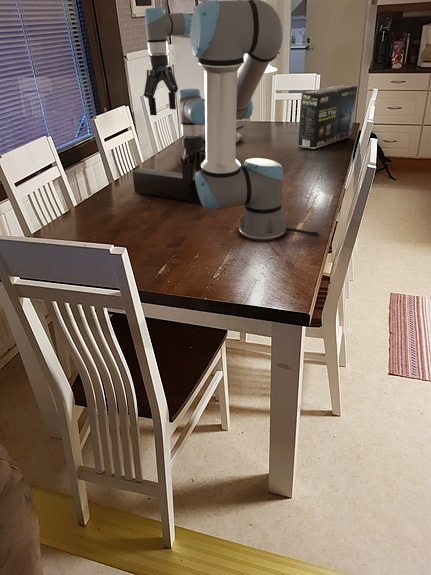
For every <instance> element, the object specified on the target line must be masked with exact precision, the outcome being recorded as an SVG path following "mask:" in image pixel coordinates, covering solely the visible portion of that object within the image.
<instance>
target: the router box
mask: <svg viewBox="0 0 431 575" xmlns="http://www.w3.org/2000/svg"><path fill="white" fill-rule="evenodd" d="M357 93H358V86H356V85H350V84H339V85H338V84H337V85H334V86H328V87H324V88H318V89H314V90H309V91H304V92H301V93H300V109H299V110H300V111H299V124H298V137H297V146H298V145H302V146H307V147H317V146H320V145H323V144H325V143H328V142H331V141H333V140H336V139H338V138H341V137H344V136H347V135H351V136H352V133H353V132H352V131H353V125H354V115H355V109H356V99H357ZM311 151H313V150H312V149H311Z"/></svg>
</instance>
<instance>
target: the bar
mask: <svg viewBox="0 0 431 575" xmlns="http://www.w3.org/2000/svg"><path fill="white" fill-rule="evenodd" d="M131 173H132V180H133V181H132V182H133V188H134V193H138V194H144V195H150V196H156V197H163V198H168V199H175V200H181V201H188V192H187V184H183V177H182V172H177V171H170V170H169V171H168V170H161V169H153V168H146V167H140V168H137V169H135V170H132V171H131ZM193 184H194V188H195V201H192V202H195V203H198V204H199V203H201V201H200V198H199V195H198V191H197V187H196V182H195V174H194V175H193ZM188 202H189V201H188Z"/></svg>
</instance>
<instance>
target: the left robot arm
mask: <svg viewBox="0 0 431 575" xmlns="http://www.w3.org/2000/svg"><path fill="white" fill-rule="evenodd" d="M191 22H192V15H191V14H189V13H188V12H171V13H166V11H165V8H164V7H150V8H148V7H147V8H145V10H144V24H145V31H146V34H145V35H146V41H147V49H148V50H147V53H148V54H149V55H148V62H149V66H150V67H151V69H147V70H146V79H145V86H144V91H143V97H145V98H147V101H148V108H149V115H150V116H157V115H158V114H157V112H158V111H157V103H156V97H155V94H156V91H157V88H158V85H159V84H160V82H162V81H163V83H164V85H165V86H166V88H167V89H168V106H169V110H177V105H176V104H177V103H176V93H178V90H179V86H178V83H177V81H176V78H175V75H174V71H173V66H171V65H170V66H169V64H170V63H169V62H170V61H169V55H168V53H169V49H168V48H169V47H168V37H173V38H180V39H188V40H190V31H191ZM202 129H203V134H202V136H203V147H201V149H205V150H206V129H205V125H202ZM185 152H186V149H185V148H184V152H183V156H182V157H184V156H185ZM205 158H206V154H205Z"/></svg>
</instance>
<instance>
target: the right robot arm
mask: <svg viewBox="0 0 431 575" xmlns="http://www.w3.org/2000/svg"><path fill="white" fill-rule="evenodd" d="M191 18H192V22H191V31H190V39H189V42H190V50H191V53H192V55H193V56H194V57H196V58H197V62H198V65H199V66H200V67H201V68H202V69H203V71H204V72H203V73H204V74H203V75H204V98H202V95H201V94H202V93H201V90H200V89H198V88H184V89H181V90H180V91H179V92H178V106H179V114H180V125H181V126H180V128H181V136H182V137H181V142H182V144H181V145H182V148H183V149H184V150H185V149H186V152H185V156H184V155H183V156H184V157H183V156H181V157H180V162H181V173H182V177H183V184H187V192H188V202H193V201H195V188H194V184H193V175H195V182H196V187H197V191H198V195H199V198H200V201H201V202H200V203H201V205H202V207H203V208H204V209H206V210H209V211H210V210H221V209H228V208H234V207H241V206H244V211H243V213H242V216H241V217H240V220H239V226H238V232H239V235H240V236H241V237H242V238H244V239H247V240H250V241H254V242H271V241H277V240H279V239H281V238H283V237H285V235H286V234H287V231H288V232H293V233H298V234H299V233H300V234H305V235H311V236H319V231H311V230H304V229H299V228H292V227H287V223H286V221H285V216H284V214H283V210H282V200H283V183H284V174H283V173H284V172H283V171H284V170H283V166H282V164H280V163H279V162H278V161H275V160H272V159H268V158H259V157H253V158H248V159H245V160H244V163H243V165H242V166H241V162H240V161H239V160H238V159H237V158H236V156H237V155H236V154H237V153H236V152H237V151H236V150H237V143H236V131H237V129H236V128H237V121H242V120H245V119H249V118H251V117H252V115H253V110H254V103H253V95H254V94H255V93H256V90H257V89H258V86H259V84H260V82H261V80H262V78H263V76H264V74H265V73H266V70H267V68H268V66H269V63H271V62H273V61H274V60H275V59H276V58H277V56H278V54H279V52H280V51H281V49H282V45H283V40H284V27H283V23H282V20H281V18H280V15H279V14H278V12H277V11H276V10H275V9H274V7H273V6H272V5H270V4H269V3H267V2H266V1H263V0H209V1H203V2H199V3H198V4H197V6H196V7H195V8H194V11H193V14H192V16H191ZM202 125H205V129H206V150H205V149H201V147H203V136H202V134H203V129H202ZM205 154H206V158H205Z"/></svg>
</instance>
